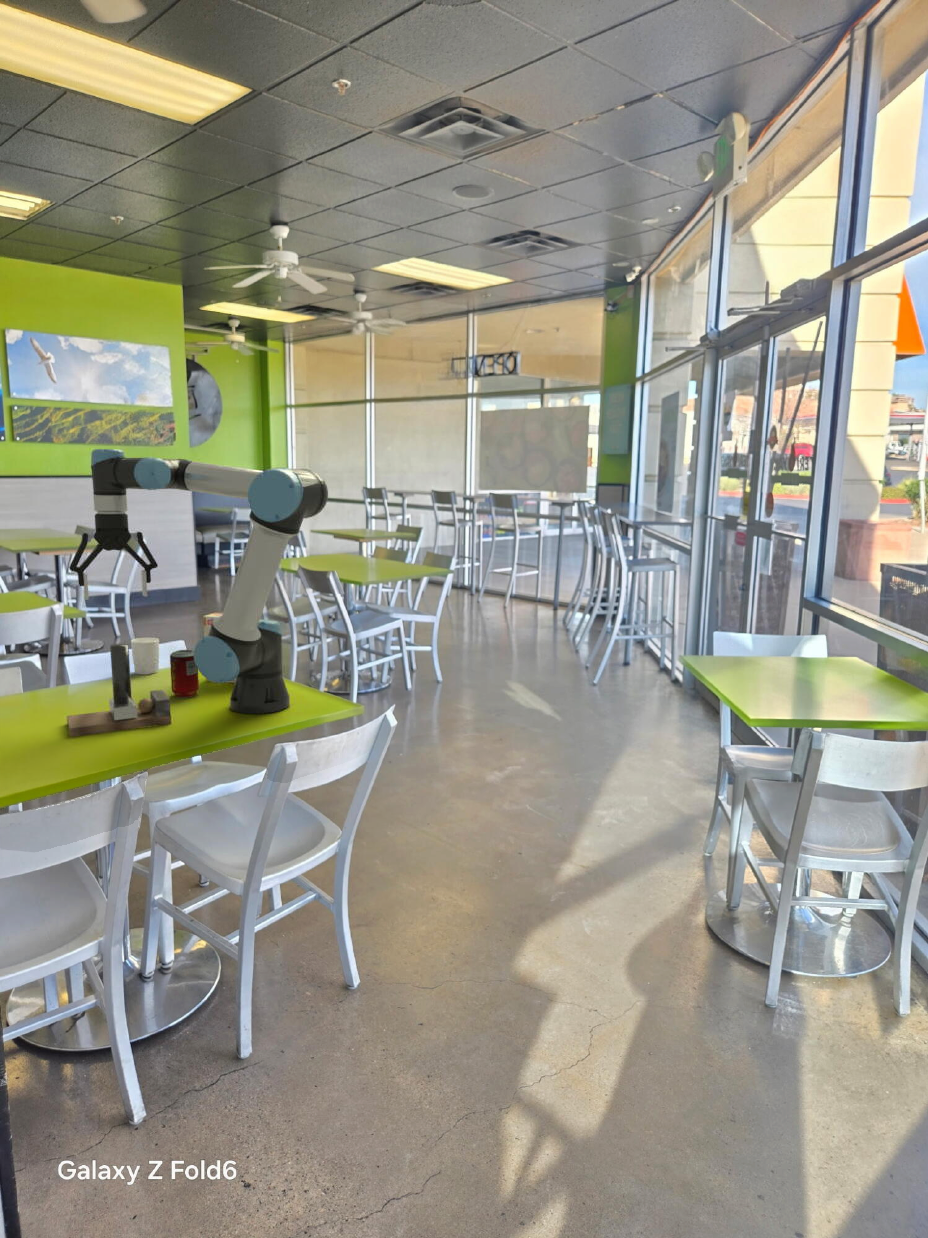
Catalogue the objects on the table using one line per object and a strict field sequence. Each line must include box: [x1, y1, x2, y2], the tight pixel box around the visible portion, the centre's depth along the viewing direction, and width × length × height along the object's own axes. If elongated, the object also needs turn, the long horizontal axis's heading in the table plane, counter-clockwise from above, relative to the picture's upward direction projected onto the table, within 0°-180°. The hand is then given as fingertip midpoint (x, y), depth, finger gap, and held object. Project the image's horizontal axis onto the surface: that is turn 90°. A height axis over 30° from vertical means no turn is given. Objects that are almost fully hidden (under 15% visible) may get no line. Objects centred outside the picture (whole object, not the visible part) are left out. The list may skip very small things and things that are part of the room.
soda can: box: [169, 649, 200, 699], centre depth 218 cm, size 7×7×12 cm
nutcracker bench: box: [66, 689, 172, 738], centre depth 192 cm, size 22×11×6 cm, turn 120°
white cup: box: [130, 637, 160, 675], centre depth 243 cm, size 8×8×10 cm
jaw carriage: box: [108, 643, 138, 720], centre depth 191 cm, size 5×9×17 cm, turn 30°
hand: (116, 597), depth 201 cm, fingers open, 13 cm apart
